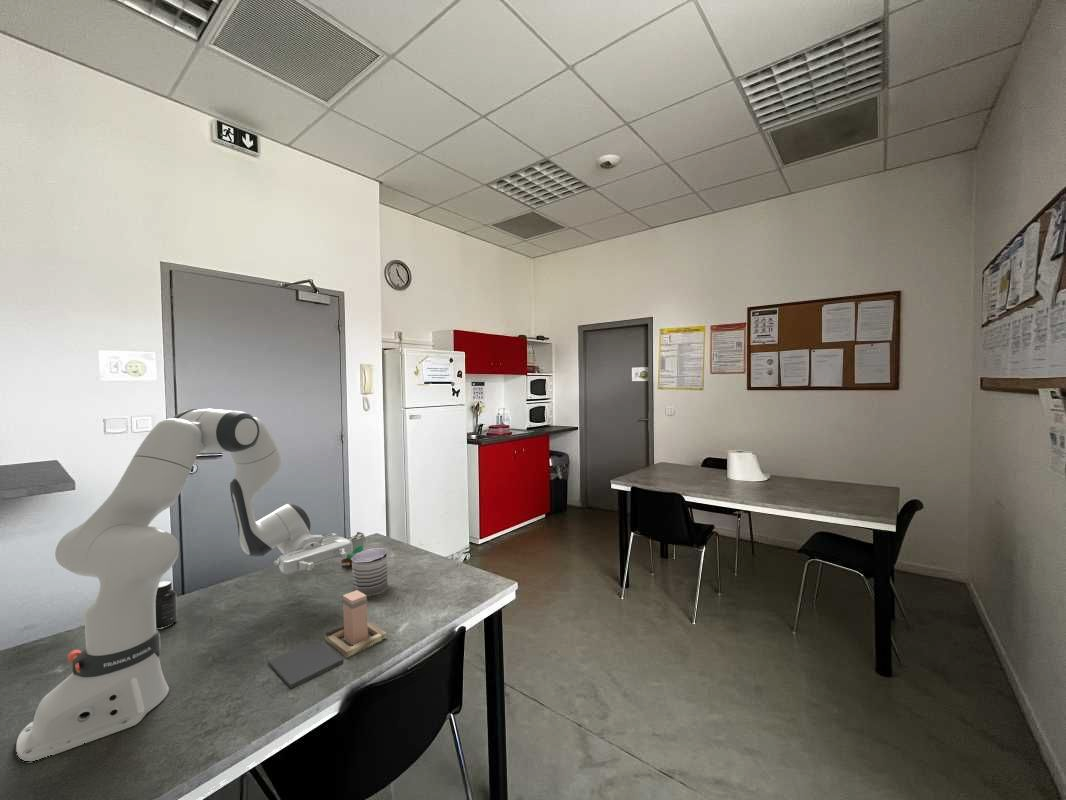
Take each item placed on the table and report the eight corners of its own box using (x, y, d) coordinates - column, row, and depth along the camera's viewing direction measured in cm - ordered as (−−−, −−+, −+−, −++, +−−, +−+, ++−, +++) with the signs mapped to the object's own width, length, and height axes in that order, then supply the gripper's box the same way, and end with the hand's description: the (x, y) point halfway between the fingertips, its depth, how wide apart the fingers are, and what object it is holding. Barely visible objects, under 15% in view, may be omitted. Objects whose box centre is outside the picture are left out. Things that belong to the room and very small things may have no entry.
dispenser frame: (346, 658, 111) (346, 648, 111) (325, 640, 119) (325, 631, 118) (386, 638, 119) (386, 629, 119) (364, 623, 127) (363, 614, 127)
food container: (354, 569, 165) (353, 543, 164) (339, 568, 166) (338, 542, 165) (372, 557, 177) (371, 532, 176) (358, 556, 178) (357, 531, 177)
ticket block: (353, 646, 116) (351, 601, 115) (344, 639, 119) (342, 595, 119) (368, 639, 119) (366, 595, 118) (358, 632, 122) (357, 589, 122)
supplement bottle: (140, 630, 126) (138, 588, 125) (165, 617, 132) (163, 577, 132) (159, 632, 124) (157, 590, 124) (183, 620, 131) (181, 579, 130)
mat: (290, 688, 100) (290, 684, 100) (268, 663, 109) (267, 660, 109) (342, 662, 109) (342, 659, 109) (317, 641, 118) (317, 638, 118)
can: (381, 596, 143) (380, 559, 143) (346, 597, 143) (345, 560, 143) (392, 580, 155) (391, 546, 154) (360, 581, 154) (359, 547, 154)
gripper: (270, 550, 129) (289, 562, 120) (339, 531, 145) (361, 541, 136) (271, 572, 130) (290, 585, 121) (340, 550, 145) (361, 561, 136)
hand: (328, 561), depth 128 cm, fingers open, 8 cm apart
